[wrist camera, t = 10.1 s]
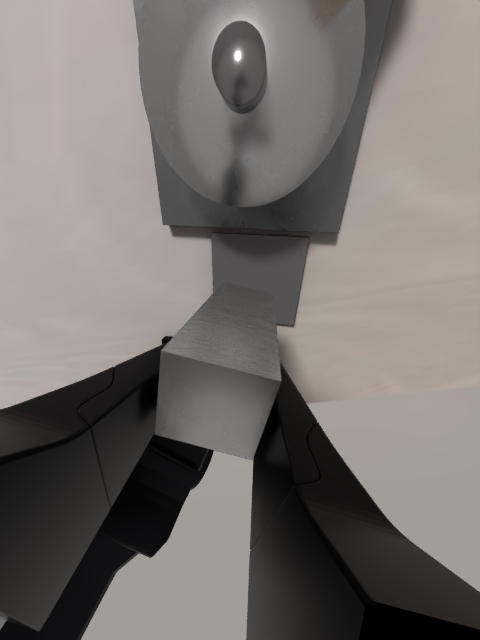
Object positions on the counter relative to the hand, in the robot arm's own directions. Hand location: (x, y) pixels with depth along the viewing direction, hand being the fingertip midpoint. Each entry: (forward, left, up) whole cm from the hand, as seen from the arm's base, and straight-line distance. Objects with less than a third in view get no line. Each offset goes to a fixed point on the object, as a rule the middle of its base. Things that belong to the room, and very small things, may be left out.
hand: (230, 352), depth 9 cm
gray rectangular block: (0, 0, -5) cm, 5 cm away
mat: (0, 0, -12) cm, 12 cm away
